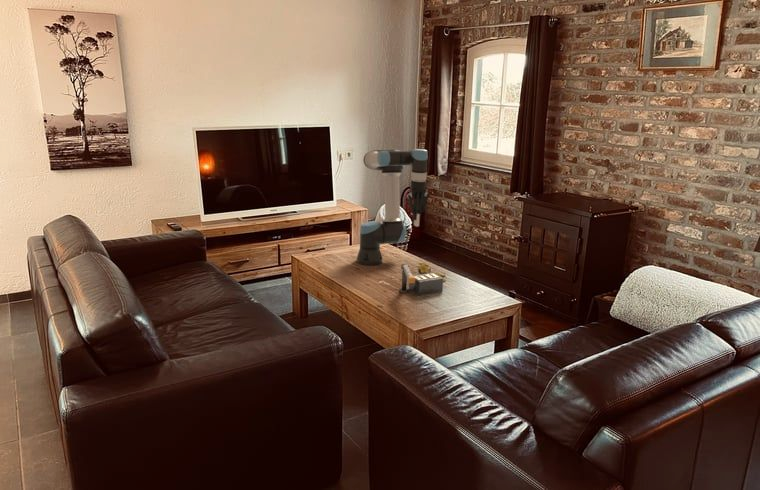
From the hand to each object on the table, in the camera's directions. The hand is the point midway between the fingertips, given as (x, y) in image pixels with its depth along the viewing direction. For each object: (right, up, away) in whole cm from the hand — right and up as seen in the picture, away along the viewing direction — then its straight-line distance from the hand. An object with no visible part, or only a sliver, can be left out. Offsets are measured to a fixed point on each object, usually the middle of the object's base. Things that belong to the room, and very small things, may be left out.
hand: (416, 225), depth 299 cm
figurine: (+9, -28, +17) cm, 34 cm away
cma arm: (-5, -25, -17) cm, 30 cm away
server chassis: (+4, -33, -2) cm, 33 cm away
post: (-7, -33, -5) cm, 34 cm away
